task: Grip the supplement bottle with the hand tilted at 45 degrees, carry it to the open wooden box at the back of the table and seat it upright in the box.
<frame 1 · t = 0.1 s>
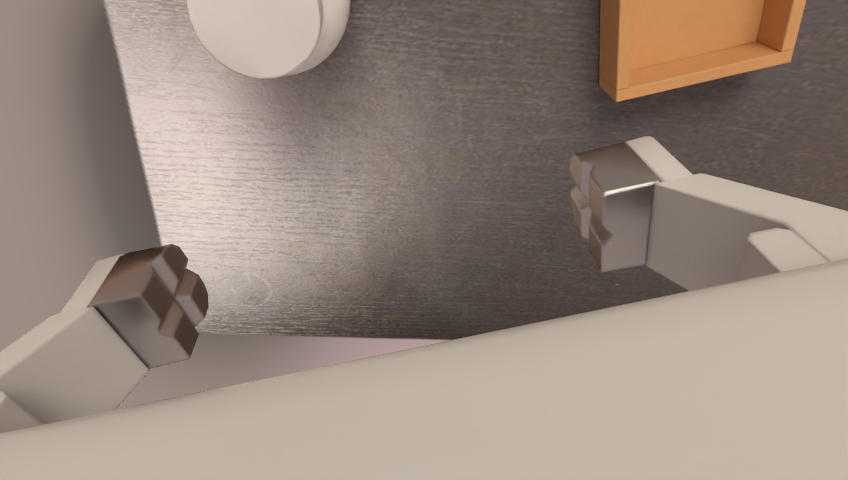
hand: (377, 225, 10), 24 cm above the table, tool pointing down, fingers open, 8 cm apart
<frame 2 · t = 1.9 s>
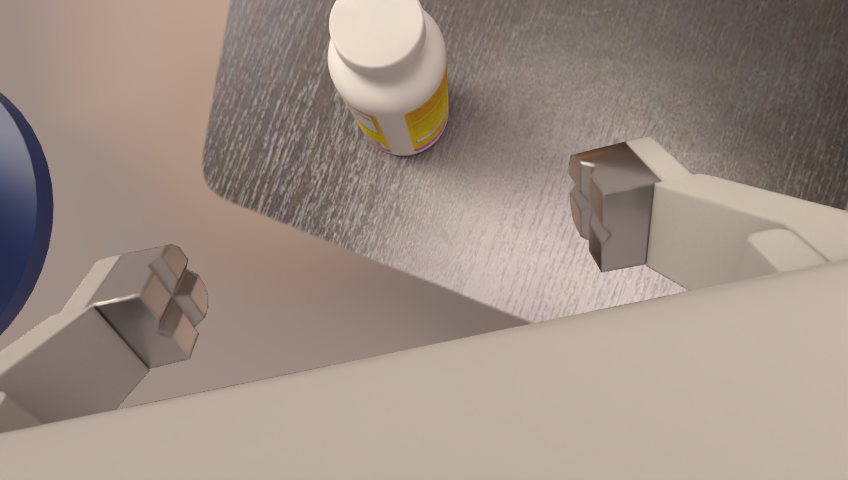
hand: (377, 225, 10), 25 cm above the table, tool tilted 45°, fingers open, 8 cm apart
supplement bottle: (404, 115, 37), on the table
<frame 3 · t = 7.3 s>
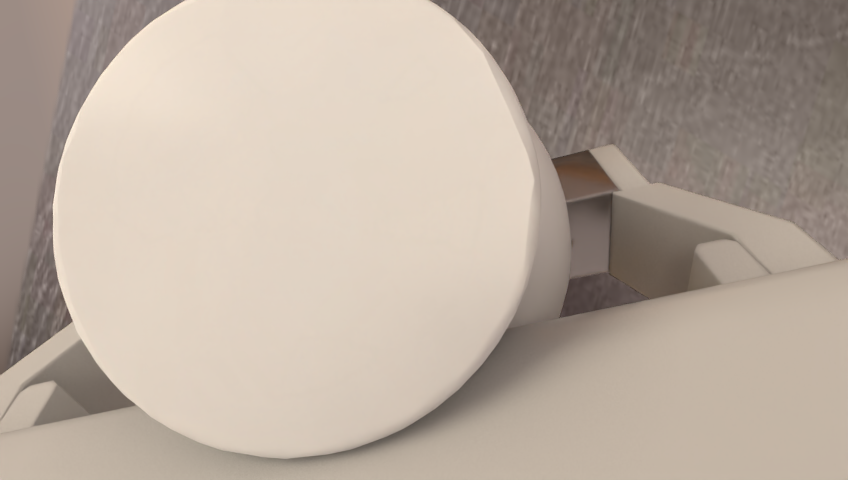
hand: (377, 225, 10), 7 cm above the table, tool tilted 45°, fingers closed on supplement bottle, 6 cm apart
supplement bottle: (418, 272, 17), on the table, touching gripper
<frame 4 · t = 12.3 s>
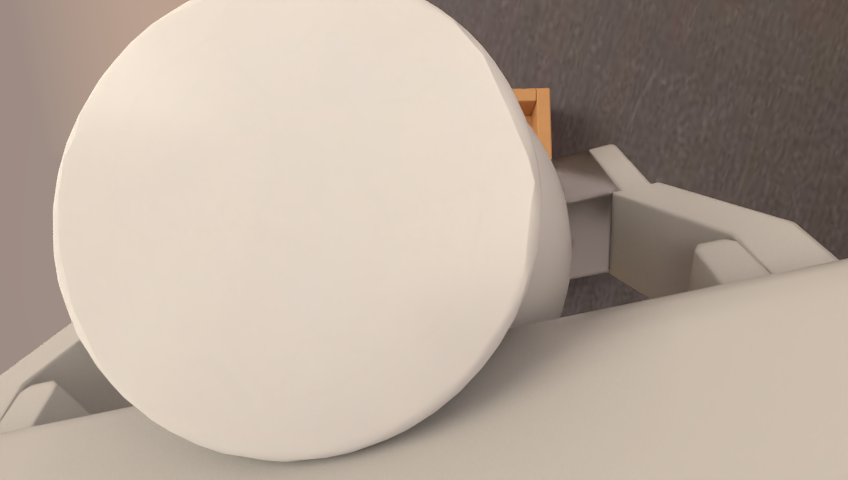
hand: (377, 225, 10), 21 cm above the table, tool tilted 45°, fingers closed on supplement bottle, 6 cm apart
supplement bottle: (418, 273, 17), point 14 cm above the table, touching gripper
open wooden box: (457, 191, 32), on the table
when the fingers open (8 cm above the table, at t = 17.4 s): supplement bottle stays where it is, resting on open wooden box.
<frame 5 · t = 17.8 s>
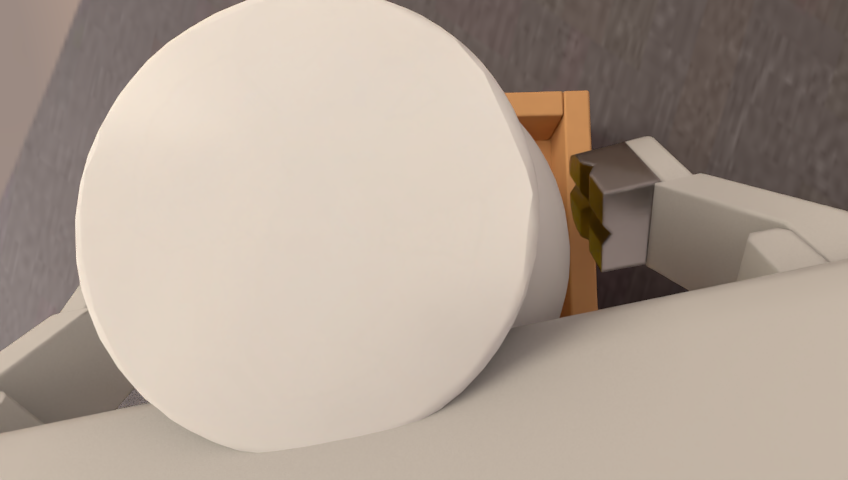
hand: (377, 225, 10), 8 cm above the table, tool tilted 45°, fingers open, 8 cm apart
supplement bottle: (420, 274, 18), resting on open wooden box
open wooden box: (419, 273, 18), on the table
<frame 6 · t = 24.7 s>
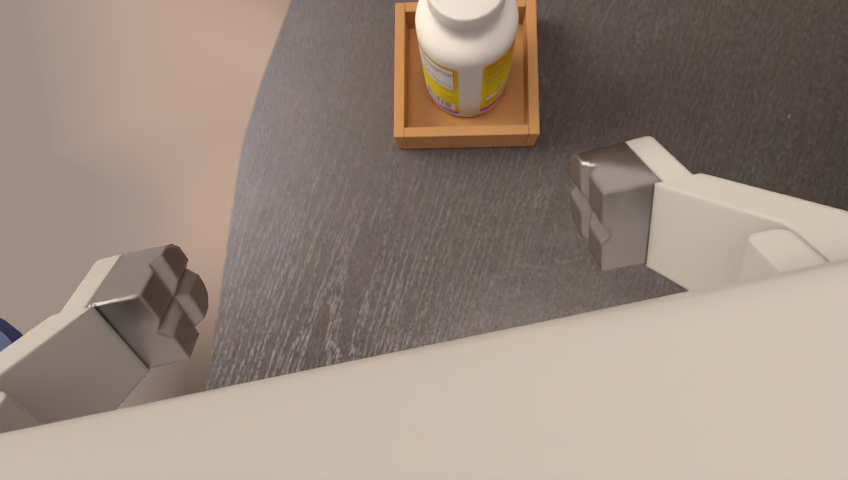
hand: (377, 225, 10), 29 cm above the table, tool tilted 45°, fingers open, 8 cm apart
supplement bottle: (466, 82, 41), resting on open wooden box
open wooden box: (465, 83, 41), on the table
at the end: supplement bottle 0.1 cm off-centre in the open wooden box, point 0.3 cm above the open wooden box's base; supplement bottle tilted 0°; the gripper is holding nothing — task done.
